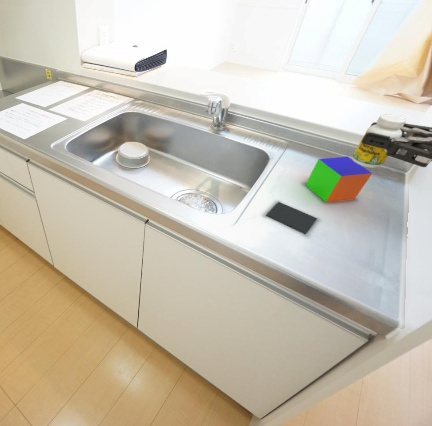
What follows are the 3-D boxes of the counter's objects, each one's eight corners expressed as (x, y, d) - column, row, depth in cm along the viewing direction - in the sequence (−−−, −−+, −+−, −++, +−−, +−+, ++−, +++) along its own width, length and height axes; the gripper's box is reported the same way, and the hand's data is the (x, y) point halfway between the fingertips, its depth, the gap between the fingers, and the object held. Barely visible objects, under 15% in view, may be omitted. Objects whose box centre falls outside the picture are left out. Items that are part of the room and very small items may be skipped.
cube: (332, 181, 78) (347, 156, 73) (354, 199, 72) (372, 173, 67) (305, 184, 77) (318, 159, 72) (325, 202, 71) (341, 176, 66)
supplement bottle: (386, 163, 59) (417, 119, 53) (373, 171, 57) (403, 126, 51) (358, 153, 63) (384, 110, 57) (345, 160, 61) (370, 116, 55)
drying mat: (316, 219, 67) (317, 218, 66) (305, 234, 63) (306, 233, 63) (278, 202, 72) (278, 201, 71) (265, 215, 68) (266, 214, 68)
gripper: (502, 124, 50) (383, 103, 59) (507, 155, 42) (370, 126, 51) (468, 161, 55) (363, 136, 64) (467, 195, 47) (349, 162, 56)
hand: (367, 132), depth 57 cm, fingers closed on supplement bottle, 5 cm apart
